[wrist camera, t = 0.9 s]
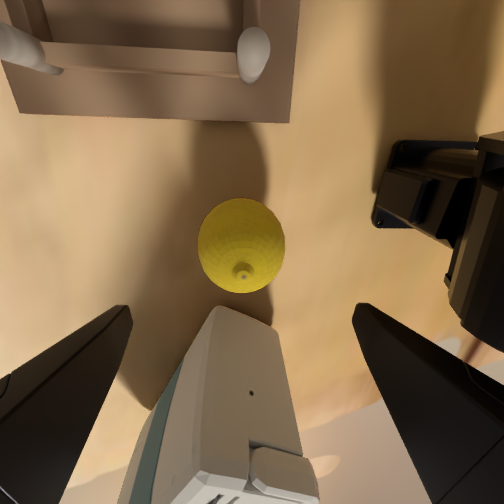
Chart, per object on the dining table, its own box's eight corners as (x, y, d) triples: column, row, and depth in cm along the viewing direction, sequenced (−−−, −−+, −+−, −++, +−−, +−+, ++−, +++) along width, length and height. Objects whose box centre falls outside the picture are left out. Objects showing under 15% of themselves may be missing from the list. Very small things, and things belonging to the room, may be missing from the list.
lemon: (217, 258, 20) (207, 328, 13) (195, 196, 18) (169, 240, 11) (280, 244, 20) (305, 306, 13) (267, 178, 17) (289, 211, 10)
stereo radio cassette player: (213, 292, 22) (119, 973, 4) (287, 321, 24) (428, 845, 6) (143, 412, 30) (9, 826, 12) (204, 426, 32) (165, 792, 14)
